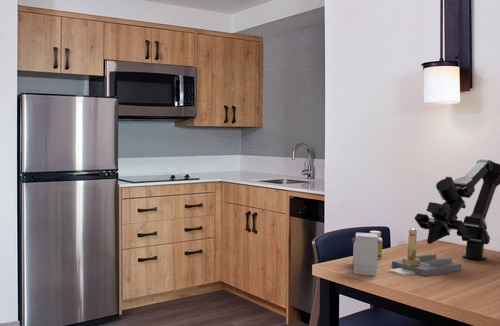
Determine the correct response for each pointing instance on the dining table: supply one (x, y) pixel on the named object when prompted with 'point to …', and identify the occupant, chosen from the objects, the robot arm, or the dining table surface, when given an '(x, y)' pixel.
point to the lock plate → (430, 265)
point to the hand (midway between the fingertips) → (428, 243)
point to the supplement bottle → (379, 243)
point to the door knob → (411, 250)
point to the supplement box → (365, 254)
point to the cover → (401, 271)
